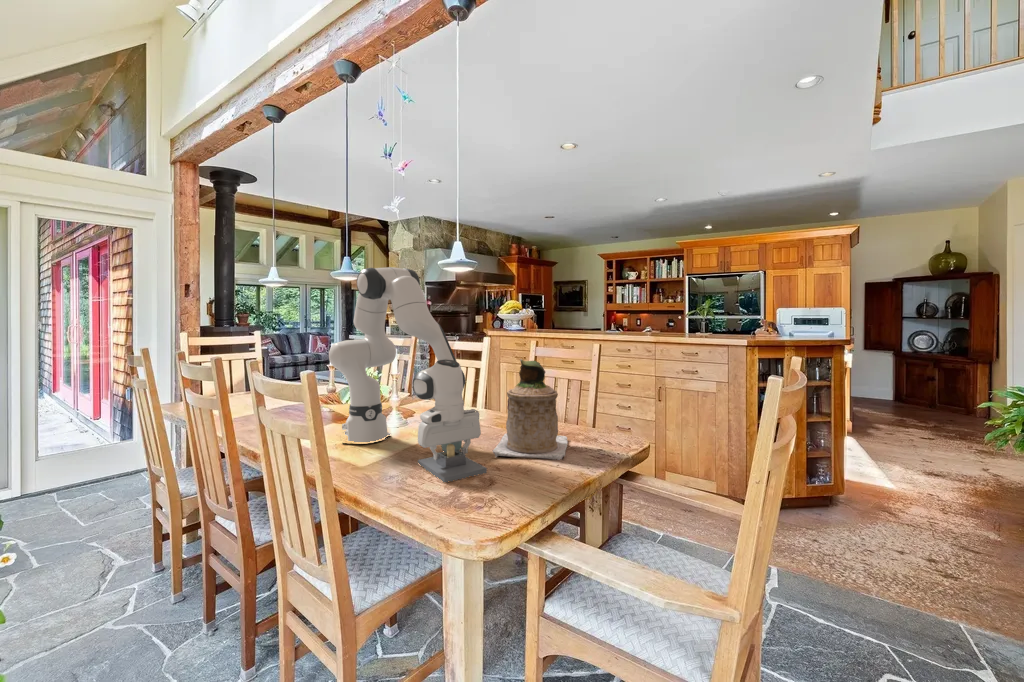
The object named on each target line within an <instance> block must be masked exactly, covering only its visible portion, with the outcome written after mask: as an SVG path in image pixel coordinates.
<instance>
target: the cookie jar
mask: <svg viewBox="0 0 1024 682" xmlns="http://www.w3.org/2000/svg"><path fill="white" fill-rule="evenodd" d="M519 361H520V367H519V368H520V370H519V372H518V374H519V382H518V383H517V384H516V385H515V386H514V387H513V388H510V389H509V390H507V391H506V396H507V398H508V399H507V420H506V423H505V429H506V433H504V435H502V436H501V439H500V441H499V442H498V444H497V445H496V447H495V448H494V449H492V453H493V455H494V456H495V458H496V457H497V458H498V457H499V456H500V457H511V458H515V457H516V458H533V459H535V458H536V459H537V458H538V459H549V460H556V459H557V461H558V460H559V461H561V460H563V457H565V456H566V450H567V447H568V443H569V441H568V436H566V435H558V434H559V427H558V425H559V424H558V422H559V416H558V414H557V408H556V406H557V397H558V396H559V395H558V394H559V393H558V391H557V390H555V389H554V388H553V387H551V386H550V385H548V384H547V385H546V384H545V382H544V380H545V377H546V376H545V374H546V370H545V368H544V366H542V365H541V363H540V362H538V361H536V360H526V361H525V360H523V358H521V359H519ZM560 459H561V460H560Z"/></svg>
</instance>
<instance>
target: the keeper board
mask: <svg viewBox="0 0 1024 682" xmlns="http://www.w3.org/2000/svg"><path fill="white" fill-rule="evenodd" d="M446 449H447V457H449V456H454V455H455V446H454V445H453V444H449V445H447V448H446ZM418 463H419V464H420V465H421V466H423V467H424V468H425V469H426V470H425V469H424V468H423V469H424V470H425V471H427V470H428V471H429V472H431V473H432V474H433V475H432V474H431V473H430V474H431V475H432V476H434V475H435V476H436V477H435V476H434V477H435V478H437V477H438V478H439V479H441V480H442V481H443V482H442V481H441V480H440V481H441V482H442V483H444V482H447V483H449V482H448V481H451V482H454V481H453V480H455V481H458V479H459V480H463V479H467V478H466V477H468V478H470V477H469V476H472V477H475V476H474V475H476V476H479V475H478V474H480V475H483V473H484V474H487V473H488V471H487V470H488V469H487V466H485V465H484V466H483V465H482V464H480V463H478V462H476V461H474V460H473V459H471V458H469V457H468V456H466V465H462V466H457V467H453V468H448V469H445V468H443V467H442V466H440V465H439V464H437V463H436V460H435V459H434V458H433V456H432V457H431V456H430V457H426V458H420V459H417V464H418ZM421 466H420V467H421ZM428 471H427V472H428ZM429 472H428V473H429ZM438 478H437V479H438ZM462 478H463V479H462ZM439 479H438V480H439Z"/></svg>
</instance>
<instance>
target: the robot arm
mask: <svg viewBox="0 0 1024 682" xmlns="http://www.w3.org/2000/svg"><path fill="white" fill-rule="evenodd" d="M420 285H421V282H420V278H419V274H418V273H417V272H416V271H415V270H413V269H410V268H405V267H403V268H400V267H394V266H391V267H390V266H388V267H368V268H367V267H366V268H364V269H361V271H359V273H358V275H357V278H356V288H357V292H358V294H357V297H356V301H355V302H356V304H355V308H354V314H353V322H352V323H353V325H354V327H355V329H356V330H357V331H359V332H361V333H362V334H364V338H362V339H346V340H342V341H339V342H338V341H337V342H334V343H333V344H332V345H331V346H330V349H329V350H328V360H329V362H330V364H331V366H333V368H335V369H336V370H338V371H339V372H340V373H341V374H342V375H343V376H344V378H345V379H346V382H347V384H348V385H347V386H348V389H349V399H350V400H349V401H350V404H349V407H348V414H349V416H348V417H347V419H346V420H345V423H342V424H341V430H342V431H343V430H345V431H344V432H345V435H347V436H348V441H354V442H370V441H376V440H379V439H382V438H384V437H386V436H387V435H390V434H391V435H392V433H391V432H388V425H387V424H388V423H387V417H386V416H387V415H385V414H383V413H382V412H383V404H382V402H381V384H380V383H379V381H378V380H377V379H376V378H374V377H371V376H370V375H368V374H367V370H366V368H376V367H383V366H385V365H389V364H392V363H393V362H394V360H395V359H396V357H397V347H396V345H395V344H394V341H392V340H391V339H390V338H389V337H388V336H387V334H386V329H385V327H386V326H385V324H386V319H387V318H386V317H387V312H388V305H389V300H390V302H391V307H392V311H393V315H394V320H395V322H396V325H397V326H398V328H399V330H401V331H402V332H403V333H405V334H406V335H409V336H411V337H415V338H417V339H420V340H423V341H424V342H426V343H427V344H428V345H430V347H431V348H432V350H433V354H434V355H435V357H436V360H437V361H435V363H434V365H432V366H430V367H428V368H425V369H423V370H419V371H416V373H415V374H414V376H413V379H412V390H413V393H414V394H415V396H416V397H417V398H419V399H420V400H427V401H428V400H434V406H433V407H431V408H429V409H427V410H425V411H423V412H422V413H419V418H420V420H421V422H420V423H419V424H418V430H417V443H418V445H419V446H420V447H422V448H424V449H425V448H429V450H430V451H431V453H432V454H433V455H432V457H433V458H434V459H435V460H438V459H440V453H439V452H437V451H436V450H437V446H441V445H443V444H448V443H453V442H458V441H462V442H464V445H463V446H461V450H460V452H462V453H464V454H468V450H469V449H468V448H469V446H470V444H471V443H472V442H471V440H474V439H479V438H480V436H481V433H482V431H481V424H480V412H479V411H478V410H477V409H476V408H471V409H465V403H464V398H463V391H464V388H465V386H466V375H465V373H464V371H463V370H462V367H461V364H460V363H459V362H458V361H457V359H456V357H455V355H454V352H453V350H452V347H451V345H450V343H449V341H448V338H447V336H446V334H445V331H444V329H443V328H442V326H441V324H440V323H439V322H437V321H436V320H435V318H434V317H433V316H432V313H431V312H430V310H429V307H428V304H427V301H426V298H425V295H424V292H423V290H422V288H421V286H420Z"/></svg>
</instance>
